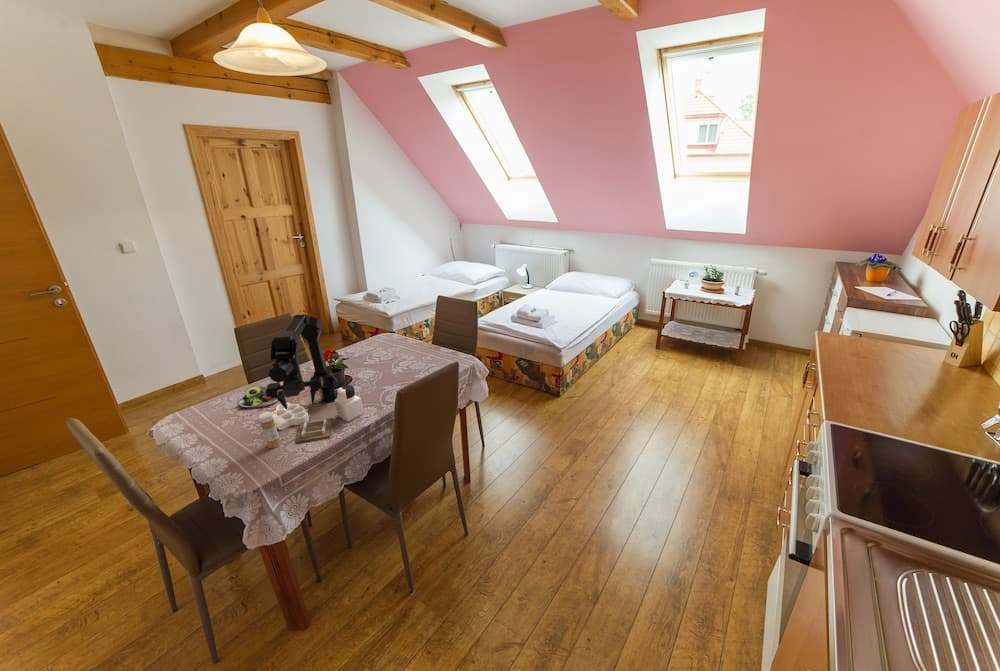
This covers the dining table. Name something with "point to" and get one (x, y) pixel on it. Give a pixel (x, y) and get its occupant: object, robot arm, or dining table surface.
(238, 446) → the dining table surface
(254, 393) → the salad plate
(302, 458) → the dining table surface
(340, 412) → the container
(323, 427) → the brown flat square frame
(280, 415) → the white compartment tray
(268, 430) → the sprinkles bottle
